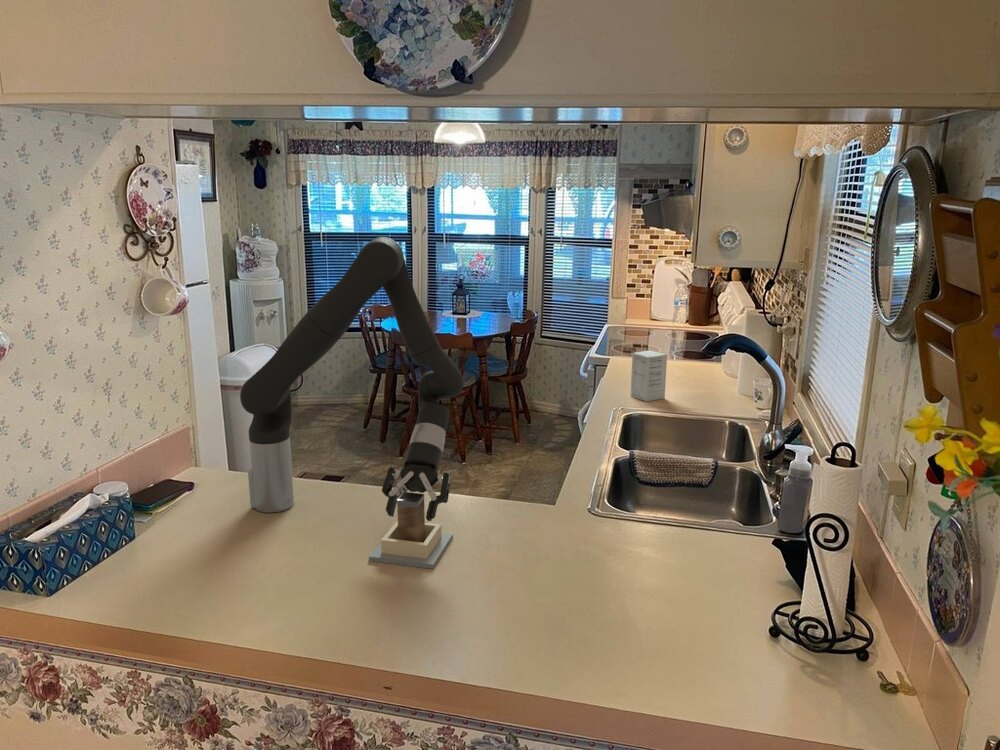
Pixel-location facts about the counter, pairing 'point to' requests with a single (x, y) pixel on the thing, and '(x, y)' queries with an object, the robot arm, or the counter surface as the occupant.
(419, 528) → the tall grey-topped block
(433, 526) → the jig
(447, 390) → the robot arm
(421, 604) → the counter surface
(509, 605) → the counter surface
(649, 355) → the supplement box
